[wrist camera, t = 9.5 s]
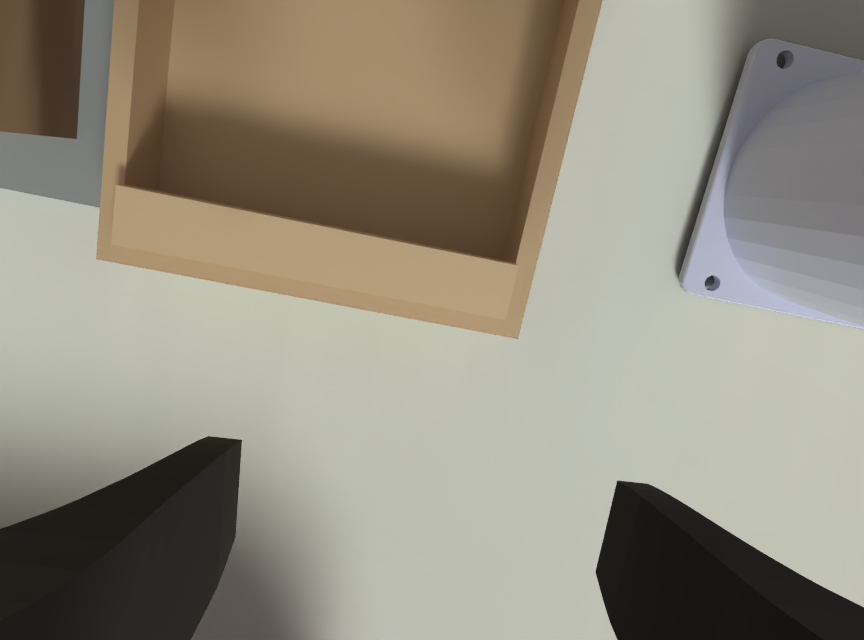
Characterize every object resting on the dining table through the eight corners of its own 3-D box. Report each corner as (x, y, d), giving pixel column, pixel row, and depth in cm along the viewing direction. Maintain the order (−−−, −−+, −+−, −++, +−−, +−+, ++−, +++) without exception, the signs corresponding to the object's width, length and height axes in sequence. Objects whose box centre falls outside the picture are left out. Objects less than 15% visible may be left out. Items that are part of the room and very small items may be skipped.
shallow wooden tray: (619, -159, 17) (665, -231, 14) (503, 317, 20) (520, 343, 17) (182, -276, 16) (128, -384, 13) (138, 247, 19) (87, 261, 16)
